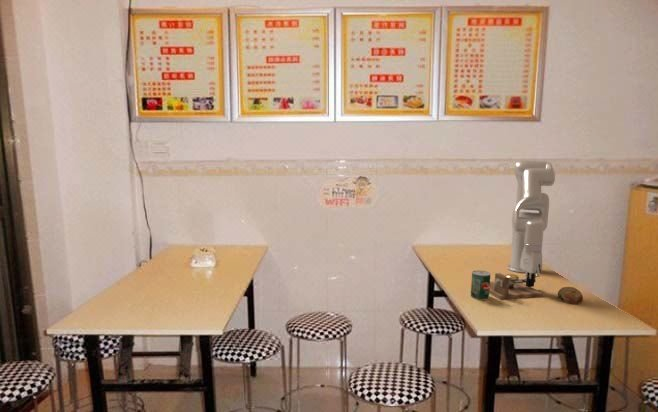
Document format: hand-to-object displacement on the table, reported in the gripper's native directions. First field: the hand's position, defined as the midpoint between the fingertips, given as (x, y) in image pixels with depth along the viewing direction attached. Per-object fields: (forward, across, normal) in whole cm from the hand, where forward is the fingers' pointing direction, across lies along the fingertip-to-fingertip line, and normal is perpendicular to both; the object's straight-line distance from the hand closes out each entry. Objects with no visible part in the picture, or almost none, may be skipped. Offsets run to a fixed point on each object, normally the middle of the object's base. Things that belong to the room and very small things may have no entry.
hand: (529, 286), depth 219 cm
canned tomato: (+3, +2, -27) cm, 27 cm away
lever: (+1, -3, -3) cm, 4 cm away
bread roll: (+3, +14, +10) cm, 18 cm away
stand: (+3, -3, -9) cm, 10 cm away
